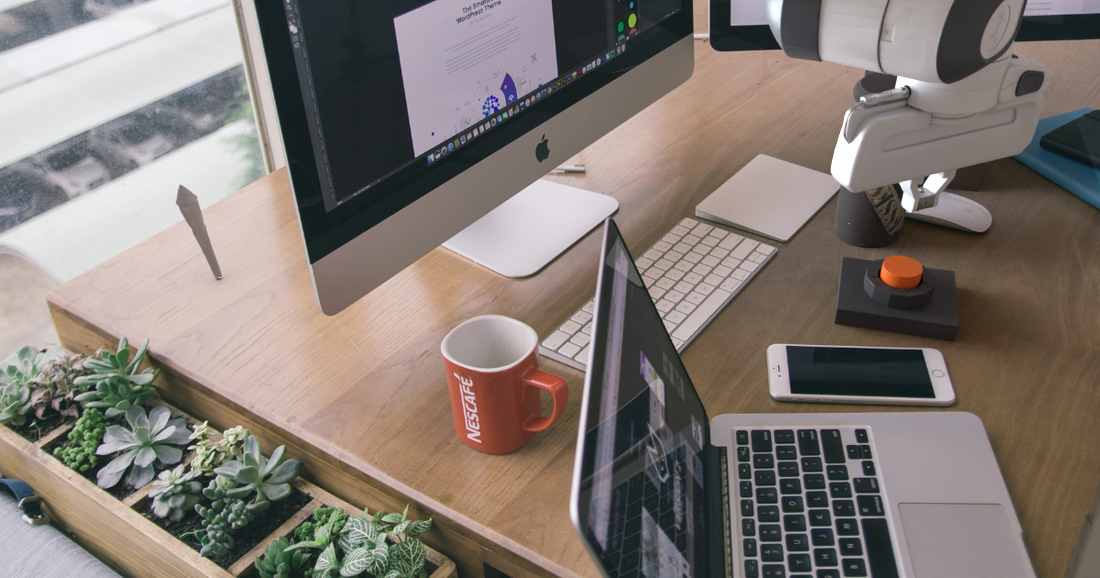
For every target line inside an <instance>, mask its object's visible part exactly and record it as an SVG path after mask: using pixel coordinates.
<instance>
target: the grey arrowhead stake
mask: <svg viewBox="0 0 1100 578" xmlns="http://www.w3.org/2000/svg"><path fill="white" fill-rule="evenodd" d="M176 194H177V195H176V200H175V204H176V206H178V209H179V211H180V213H181V215H182V216H183V218H184V220H185V221H186V223H187V225H188V227H190V228H191V231H192V235H193V237H194V238H195V239H196V241H197V243H198V245H199V247H200V250H201V251H202V253H203V255H204V257H205V259H206V261H207V263H208V266H209V268H210V270H211V273H212V275H213V276H214V277H215V279H216V278H218V277H221V276H222V277H223V274H222V271H221V267H220V265H219V262H218V259H217V257H216V254H215V251H214V249H213V246H212V243H211V239H210V236H209V232H208V230H207V226H206V224H205V221H204V218H203V213H202V210H201V206H200V204H199V203H200V202H199V200H198V196H197V195H196V194H195V193H193V192H192V191H191V190H190V189H188V188H187V187H186V186H185V185H182V184H179V186H178V189H177V193H176Z"/></svg>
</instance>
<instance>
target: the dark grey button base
mask: <svg viewBox="0 0 1100 578" xmlns="http://www.w3.org/2000/svg"><path fill="white" fill-rule="evenodd" d="M885 259H886V258H882V259H876V260H870V259H862V258H855V257H847V256H842V257H841V263H840V268H839V274H838V282H837V293H836V301H835V302H836V303H835V313H834V321H833V323H834V325H841V326H846V327H847V326H848V327H854V328H861V329H868V330H873V331H880V332H886V333H887V332H888V333H894V334H900V335H907V336H911V337H912V336H913V337H919V338H925V339H926V338H927V339H931V340H932V339H933V340H939V341H945V342H952V343H954V342H955V341H956V338H957V334H958V331H959V329H960V323H959V322H960V321H959V308H958V298H957V297H958V296H957V295H958V294H957V285H956V273H955V270H949V269H941V268H934V267H933V268H932V267H927V266H925V265H923V264H921V265H922V267H923V271H922V275H921V279H920V283H919V285H918V286H917V287H916V288H912V289H907V290H906V289H898V288H893V287H891V286H889V285H887V284H885V283H883V282H882V280H881V278H880V274H881V270H882V265H883V262H884V260H885Z"/></svg>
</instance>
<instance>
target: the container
mask: <svg viewBox="0 0 1100 578" xmlns="http://www.w3.org/2000/svg"><path fill="white" fill-rule="evenodd" d="M896 81H897V76H896V75H891V74H889V75H888V74H882V73H878V72H877V73H873V74H869V75H867V76H865V77H864V76H863V77H862V78H861V79H859V80H858V81H857V82H856V83H855V84H854V86H853V91H852V93H853V98H854V104H856V103H857V102H859V101H860V99H861V97H863V96H865V95H868V94H872V93H876V94H877V93H881V92H885V91H887V90H891V89H895V86H896ZM859 107H860V106H859ZM903 193H904V191H903V190H902V188H901V186H900V183H896V184H891V185H887V186H883V187H879V188H875V189H870V190H866V191H862V192H858V193H853V192H851V191H849V190H848V189H847V188H845V187H844V186H842V185H841V184H840V187H839V192H838V196H837V198H838V199H837V202H836V206H835V212H834V216H833V217H834V218H833V224H832V228H833V232H834V234H835V235H836V236H837V237H838V238H839V239H840V240H842V241H843V242H845V243H847V244H849V245H853V246H856V247H863V248H879V247H884V246H889V245H891V244H893V243H894V242H896V241H898V239H899V238H900V236H901V234H902V230H903V227H904V223H905V217H906V212H907V210H906V209H904V208H903V207H902V203H901V202H902V198H903Z"/></svg>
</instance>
